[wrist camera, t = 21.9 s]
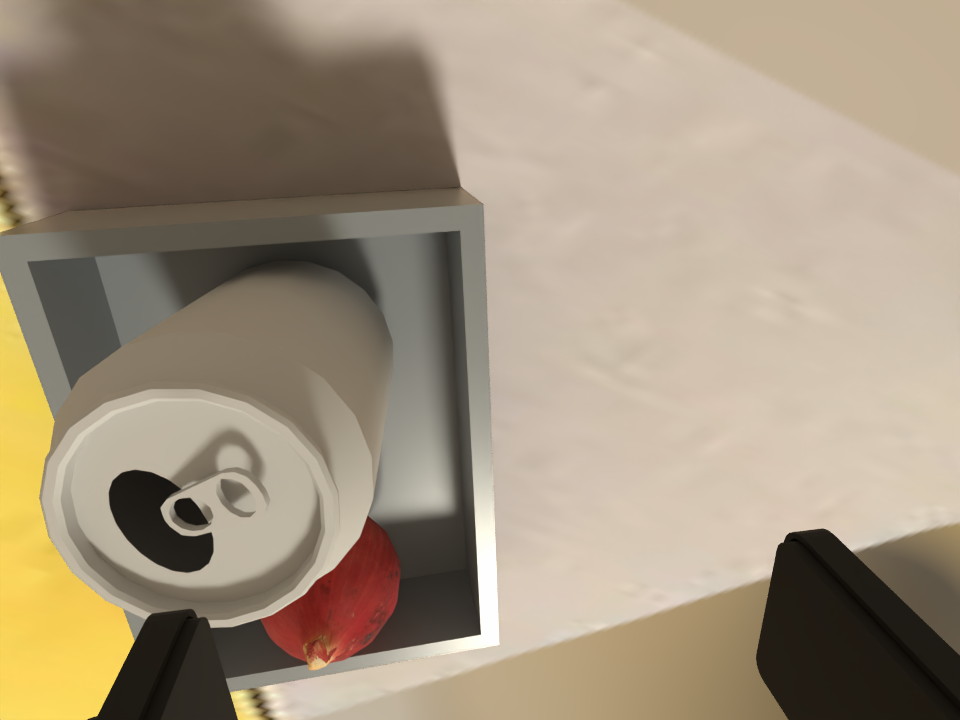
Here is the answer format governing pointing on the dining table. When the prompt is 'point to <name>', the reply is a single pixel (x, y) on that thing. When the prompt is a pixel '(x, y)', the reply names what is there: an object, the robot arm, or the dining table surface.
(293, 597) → the can
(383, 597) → the onion
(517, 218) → the dining table surface
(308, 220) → the tote
